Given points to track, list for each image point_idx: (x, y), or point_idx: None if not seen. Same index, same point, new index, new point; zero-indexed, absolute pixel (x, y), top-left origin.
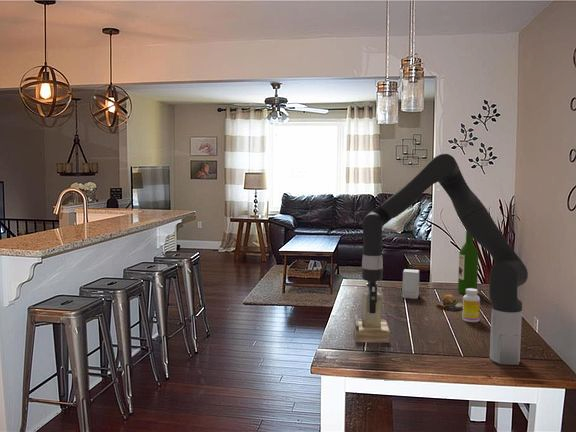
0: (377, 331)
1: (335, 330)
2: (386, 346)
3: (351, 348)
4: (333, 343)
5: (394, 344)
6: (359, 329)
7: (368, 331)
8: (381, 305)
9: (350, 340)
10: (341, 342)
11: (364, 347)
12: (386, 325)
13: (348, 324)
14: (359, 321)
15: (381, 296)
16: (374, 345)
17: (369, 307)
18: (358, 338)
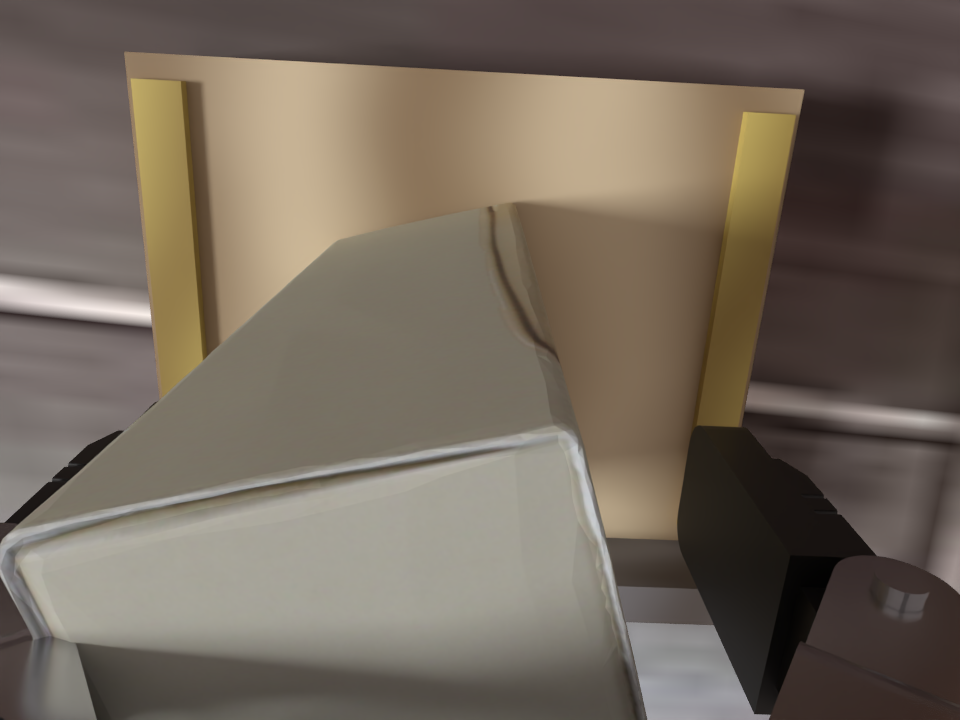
0: (758, 290)
1: None
2: (873, 155)
3: (876, 553)
4: (703, 700)
5: (811, 25)
6: (643, 527)
7: (740, 419)
8: (539, 289)
9: None
10: (679, 631)
11: (867, 423)
12: (440, 89)
13: None
14: None
15: (569, 410)
16: (815, 303)
17: (727, 620)
18: None
